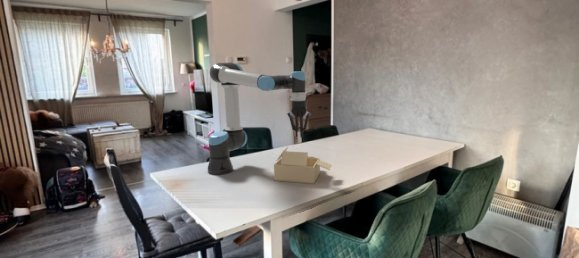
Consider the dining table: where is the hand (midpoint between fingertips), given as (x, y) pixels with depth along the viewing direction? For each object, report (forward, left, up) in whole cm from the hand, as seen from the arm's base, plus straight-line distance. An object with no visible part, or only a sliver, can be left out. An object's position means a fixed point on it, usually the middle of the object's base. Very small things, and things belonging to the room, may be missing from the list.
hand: (299, 142), depth 173 cm
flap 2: (-1, -7, -7) cm, 10 cm away
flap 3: (-1, +13, -12) cm, 18 cm away
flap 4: (+14, 0, -12) cm, 18 cm away
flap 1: (-10, 0, -7) cm, 13 cm away
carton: (-1, 0, -20) cm, 20 cm away
